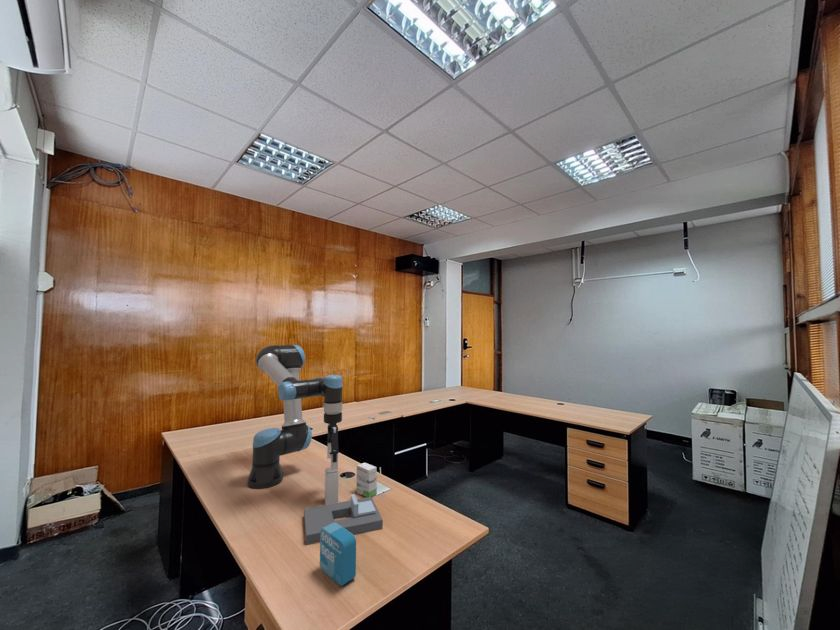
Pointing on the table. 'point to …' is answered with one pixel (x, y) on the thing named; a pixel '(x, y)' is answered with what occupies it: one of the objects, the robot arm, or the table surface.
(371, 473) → the ink box
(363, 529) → the socket block
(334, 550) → the data package
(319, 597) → the table surface
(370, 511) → the light blue l-shaped block
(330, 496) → the plug
